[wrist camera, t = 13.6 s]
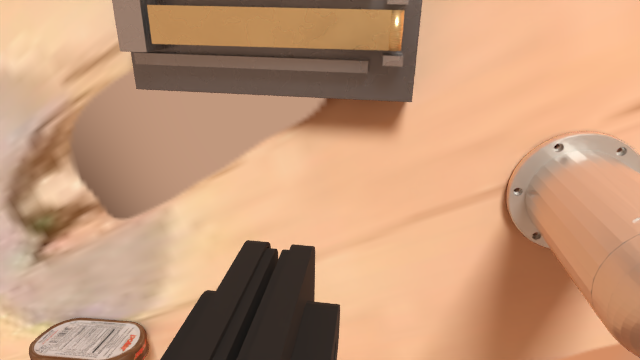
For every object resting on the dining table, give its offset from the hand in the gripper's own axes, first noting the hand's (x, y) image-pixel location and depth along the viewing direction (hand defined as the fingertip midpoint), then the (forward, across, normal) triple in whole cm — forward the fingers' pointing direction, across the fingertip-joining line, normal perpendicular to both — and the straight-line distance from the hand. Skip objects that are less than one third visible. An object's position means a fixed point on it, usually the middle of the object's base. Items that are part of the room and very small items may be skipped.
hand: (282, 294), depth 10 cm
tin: (+33, +33, +35) cm, 59 cm away
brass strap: (+27, +7, -5) cm, 29 cm away
